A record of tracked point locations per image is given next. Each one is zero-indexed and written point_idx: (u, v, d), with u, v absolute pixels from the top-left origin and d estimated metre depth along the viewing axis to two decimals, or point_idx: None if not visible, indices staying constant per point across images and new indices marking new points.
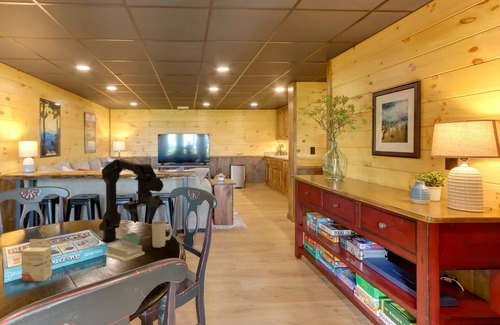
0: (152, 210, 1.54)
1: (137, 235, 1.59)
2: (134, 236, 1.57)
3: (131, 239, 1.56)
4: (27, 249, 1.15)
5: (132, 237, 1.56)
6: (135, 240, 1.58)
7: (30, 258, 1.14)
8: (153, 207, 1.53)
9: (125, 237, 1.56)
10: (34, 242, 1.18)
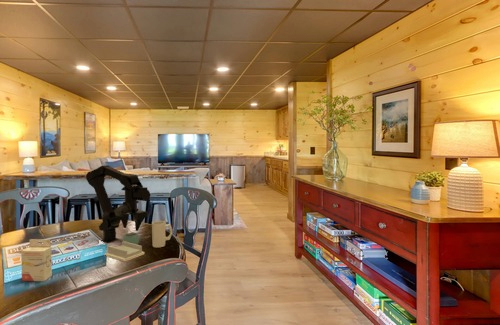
0: None
1: (137, 235, 1.59)
2: (134, 236, 1.57)
3: (131, 239, 1.56)
4: (27, 249, 1.15)
5: (132, 237, 1.56)
6: (135, 240, 1.58)
7: (30, 258, 1.14)
8: None
9: (125, 237, 1.56)
10: (34, 242, 1.18)
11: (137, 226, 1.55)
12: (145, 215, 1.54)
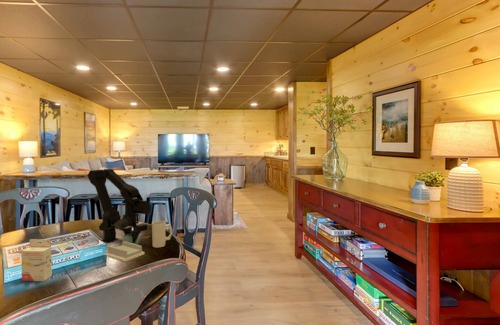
0: None
1: None
2: None
3: (131, 239, 1.56)
4: (27, 249, 1.15)
5: None
6: None
7: (30, 258, 1.14)
8: None
9: (125, 237, 1.56)
10: (34, 242, 1.18)
11: (134, 238, 1.56)
12: (145, 228, 1.54)
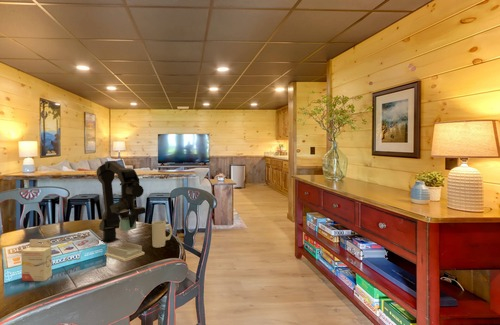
0: None
1: None
2: None
3: (128, 223, 1.47)
4: (27, 249, 1.15)
5: None
6: None
7: (30, 258, 1.14)
8: None
9: (122, 221, 1.46)
10: (34, 242, 1.18)
11: (131, 223, 1.47)
12: (143, 211, 1.45)
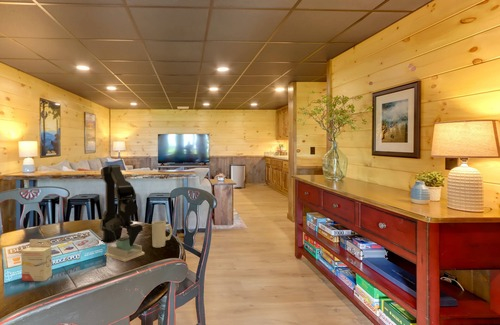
0: None
1: None
2: (128, 241, 1.42)
3: (124, 244, 1.40)
4: (27, 249, 1.15)
5: (126, 242, 1.41)
6: (129, 245, 1.42)
7: (30, 258, 1.14)
8: None
9: (118, 242, 1.40)
10: (34, 242, 1.18)
11: (131, 241, 1.39)
12: (140, 229, 1.38)
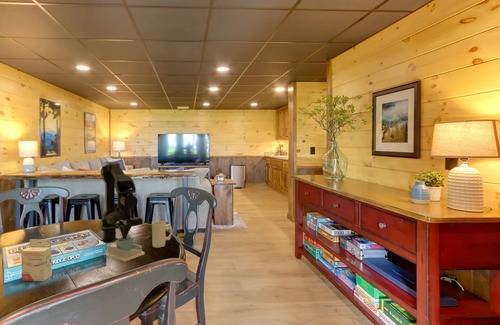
0: None
1: (131, 239, 1.43)
2: (128, 241, 1.42)
3: (124, 244, 1.40)
4: (27, 249, 1.15)
5: (126, 242, 1.41)
6: (129, 245, 1.42)
7: (30, 258, 1.14)
8: None
9: (118, 242, 1.40)
10: (34, 242, 1.18)
11: (125, 233, 1.41)
12: (140, 222, 1.38)
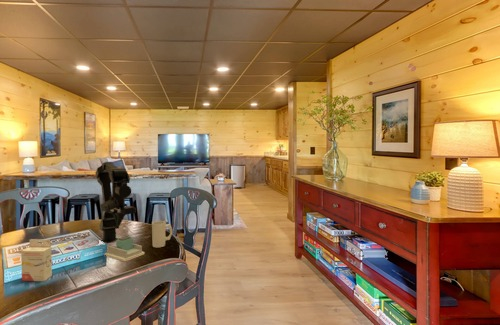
0: None
1: (131, 239, 1.43)
2: (128, 241, 1.42)
3: (124, 244, 1.40)
4: (27, 249, 1.15)
5: (126, 242, 1.41)
6: (129, 245, 1.42)
7: (30, 258, 1.14)
8: None
9: (118, 242, 1.40)
10: (34, 242, 1.18)
11: (119, 221, 1.50)
12: (133, 211, 1.47)
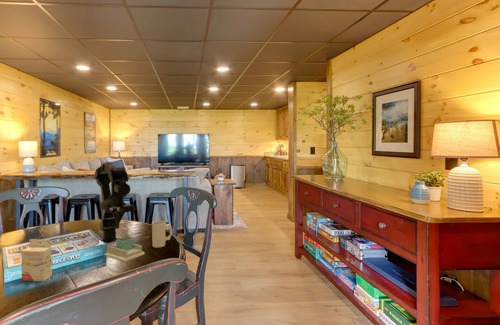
0: None
1: (131, 239, 1.43)
2: (128, 241, 1.42)
3: (124, 244, 1.40)
4: (27, 249, 1.15)
5: (126, 242, 1.41)
6: (129, 245, 1.42)
7: (30, 258, 1.14)
8: None
9: (118, 242, 1.40)
10: (34, 242, 1.18)
11: (118, 219, 1.51)
12: (132, 209, 1.48)
